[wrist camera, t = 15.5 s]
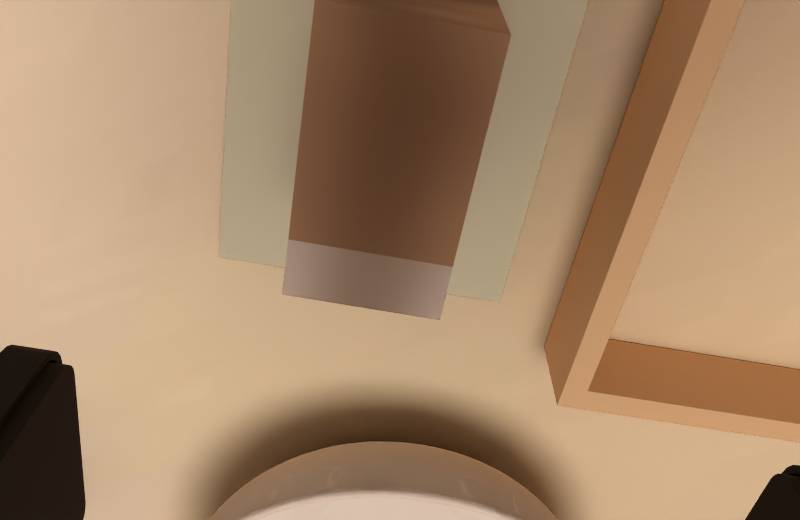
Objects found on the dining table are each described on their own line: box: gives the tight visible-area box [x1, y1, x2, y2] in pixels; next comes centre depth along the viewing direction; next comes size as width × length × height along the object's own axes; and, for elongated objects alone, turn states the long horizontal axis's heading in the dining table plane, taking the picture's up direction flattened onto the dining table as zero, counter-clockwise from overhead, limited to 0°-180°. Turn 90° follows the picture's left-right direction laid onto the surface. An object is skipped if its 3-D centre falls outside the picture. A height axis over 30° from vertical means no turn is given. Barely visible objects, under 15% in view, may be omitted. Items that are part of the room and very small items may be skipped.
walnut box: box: [282, 0, 511, 320], centre depth 23 cm, size 5×9×7 cm, turn 170°
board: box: [218, 0, 589, 303], centre depth 27 cm, size 12×16×2 cm
